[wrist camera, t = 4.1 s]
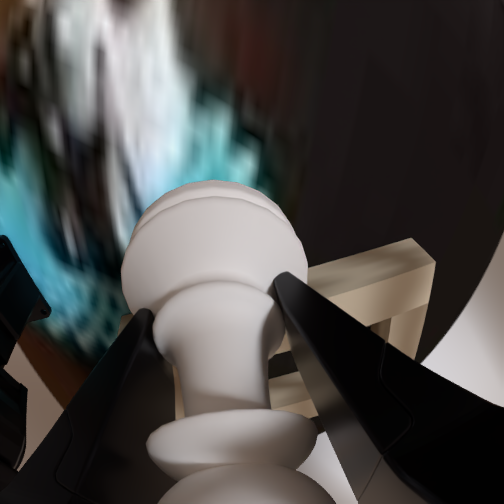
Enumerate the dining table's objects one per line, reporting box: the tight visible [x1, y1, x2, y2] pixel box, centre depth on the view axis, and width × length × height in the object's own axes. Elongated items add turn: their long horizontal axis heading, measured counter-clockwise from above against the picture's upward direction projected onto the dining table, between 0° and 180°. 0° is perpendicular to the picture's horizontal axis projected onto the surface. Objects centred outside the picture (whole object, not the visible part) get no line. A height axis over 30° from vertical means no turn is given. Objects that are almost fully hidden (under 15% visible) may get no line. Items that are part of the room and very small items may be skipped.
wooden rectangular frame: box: [117, 238, 436, 420], centre depth 22 cm, size 20×14×3 cm
